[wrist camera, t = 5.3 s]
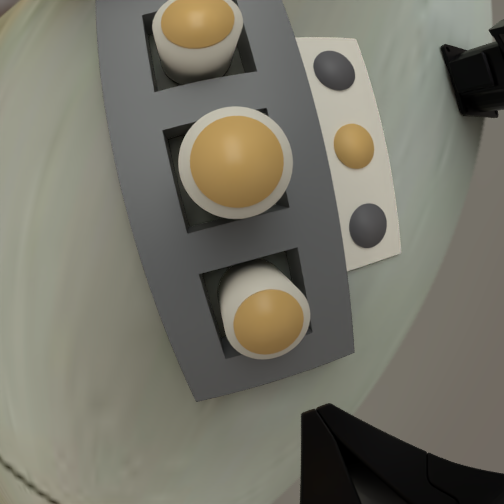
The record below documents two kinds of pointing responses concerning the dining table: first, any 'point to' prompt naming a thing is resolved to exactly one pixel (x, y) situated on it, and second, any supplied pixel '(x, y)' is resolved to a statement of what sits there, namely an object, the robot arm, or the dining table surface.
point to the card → (353, 148)
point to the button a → (196, 38)
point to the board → (224, 230)
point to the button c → (262, 310)
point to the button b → (235, 162)
